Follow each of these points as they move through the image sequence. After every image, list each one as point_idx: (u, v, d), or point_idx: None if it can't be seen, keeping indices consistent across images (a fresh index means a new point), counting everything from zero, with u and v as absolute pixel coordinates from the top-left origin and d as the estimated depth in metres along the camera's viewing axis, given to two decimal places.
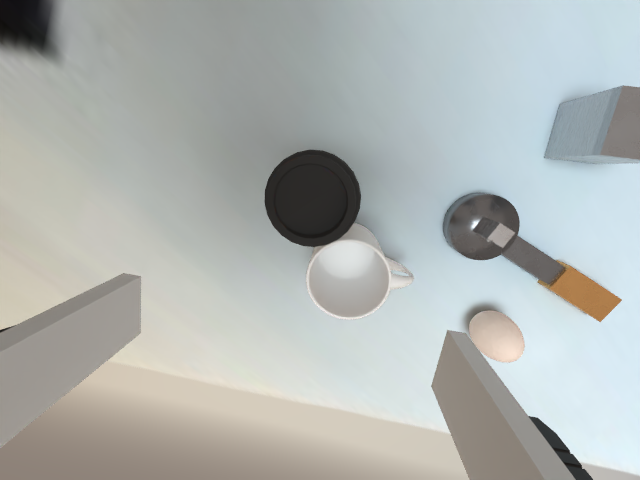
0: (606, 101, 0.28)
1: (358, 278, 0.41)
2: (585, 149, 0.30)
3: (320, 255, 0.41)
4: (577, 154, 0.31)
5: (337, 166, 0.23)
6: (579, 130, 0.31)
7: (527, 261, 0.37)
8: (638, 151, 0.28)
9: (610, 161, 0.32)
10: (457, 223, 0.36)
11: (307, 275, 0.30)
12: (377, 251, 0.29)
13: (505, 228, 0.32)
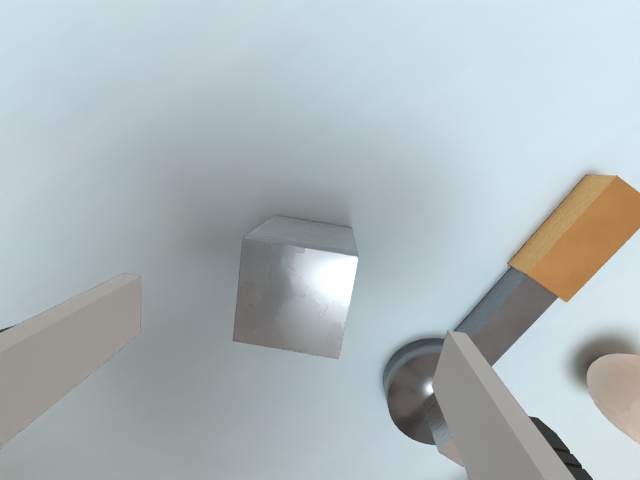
0: None
1: None
2: None
3: None
4: None
5: None
6: None
7: (506, 334, 0.22)
8: (336, 303, 0.16)
9: None
10: (428, 435, 0.24)
11: None
12: None
13: (449, 444, 0.19)
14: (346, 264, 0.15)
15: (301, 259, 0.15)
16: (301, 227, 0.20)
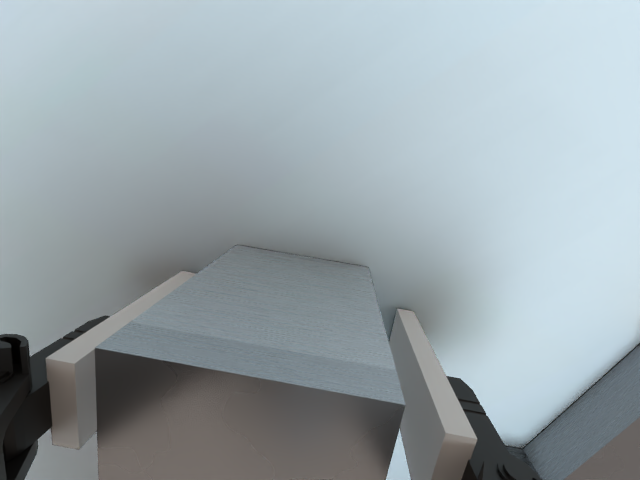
0: None
1: None
2: None
3: None
4: None
5: None
6: None
7: None
8: None
9: None
10: None
11: None
12: None
13: None
14: (371, 421, 0.06)
15: (251, 405, 0.06)
16: (275, 278, 0.10)
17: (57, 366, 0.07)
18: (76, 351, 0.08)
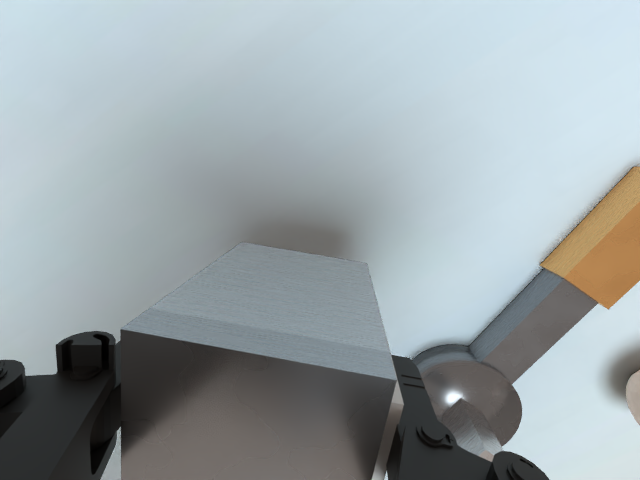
0: None
1: None
2: None
3: None
4: None
5: None
6: None
7: (537, 343, 0.20)
8: (341, 473, 0.07)
9: None
10: None
11: None
12: None
13: None
14: (367, 395, 0.06)
15: (259, 380, 0.07)
16: (279, 272, 0.11)
17: None
18: None
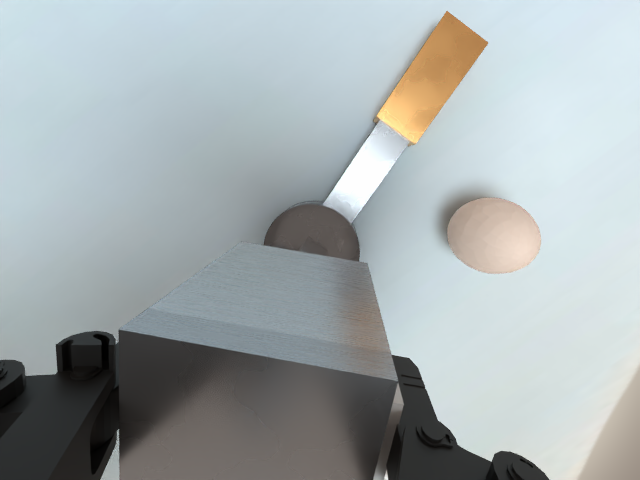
0: None
1: None
2: None
3: None
4: None
5: None
6: None
7: (367, 182, 0.24)
8: (342, 475, 0.07)
9: None
10: None
11: None
12: None
13: None
14: (368, 396, 0.06)
15: (259, 381, 0.06)
16: (279, 271, 0.11)
17: None
18: None
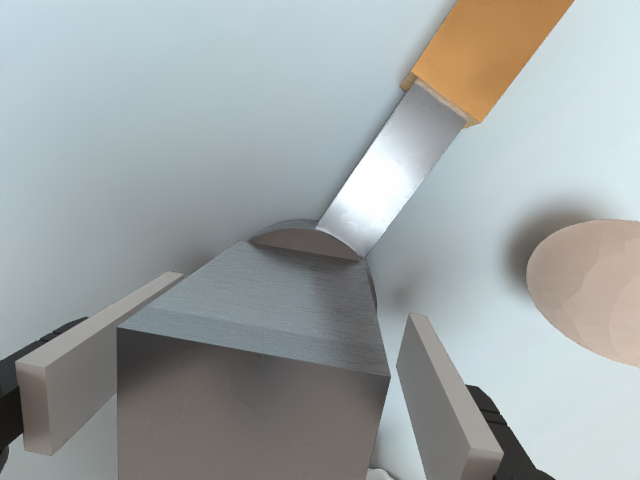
0: None
1: None
2: None
3: None
4: None
5: None
6: None
7: (390, 191, 0.14)
8: (336, 469, 0.07)
9: None
10: None
11: None
12: None
13: None
14: (361, 392, 0.06)
15: (255, 377, 0.07)
16: (276, 270, 0.11)
17: (27, 370, 0.07)
18: (48, 354, 0.08)
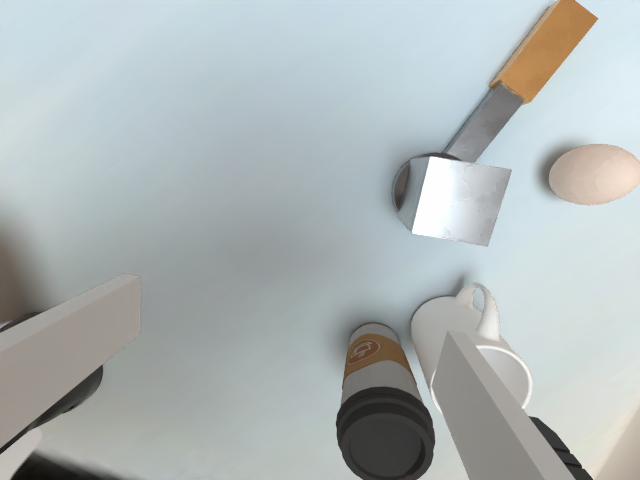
0: None
1: None
2: None
3: None
4: None
5: (353, 424, 0.24)
6: None
7: (485, 134, 0.29)
8: (491, 204, 0.23)
9: None
10: None
11: None
12: None
13: None
14: (502, 175, 0.22)
15: (470, 171, 0.23)
16: None
17: None
18: None
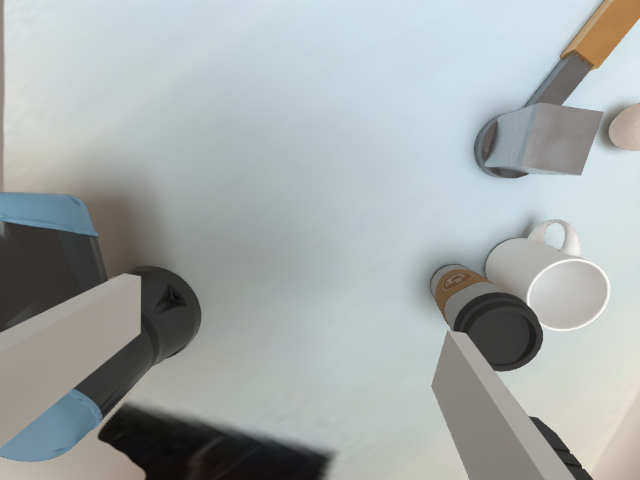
0: (523, 167, 0.31)
1: None
2: (560, 174, 0.32)
3: None
4: (559, 174, 0.33)
5: (479, 318, 0.30)
6: (531, 170, 0.34)
7: (559, 95, 0.36)
8: (585, 140, 0.29)
9: None
10: (507, 171, 0.38)
11: (555, 329, 0.34)
12: (543, 270, 0.32)
13: None
14: (595, 116, 0.29)
15: (570, 114, 0.29)
16: None
17: None
18: None
